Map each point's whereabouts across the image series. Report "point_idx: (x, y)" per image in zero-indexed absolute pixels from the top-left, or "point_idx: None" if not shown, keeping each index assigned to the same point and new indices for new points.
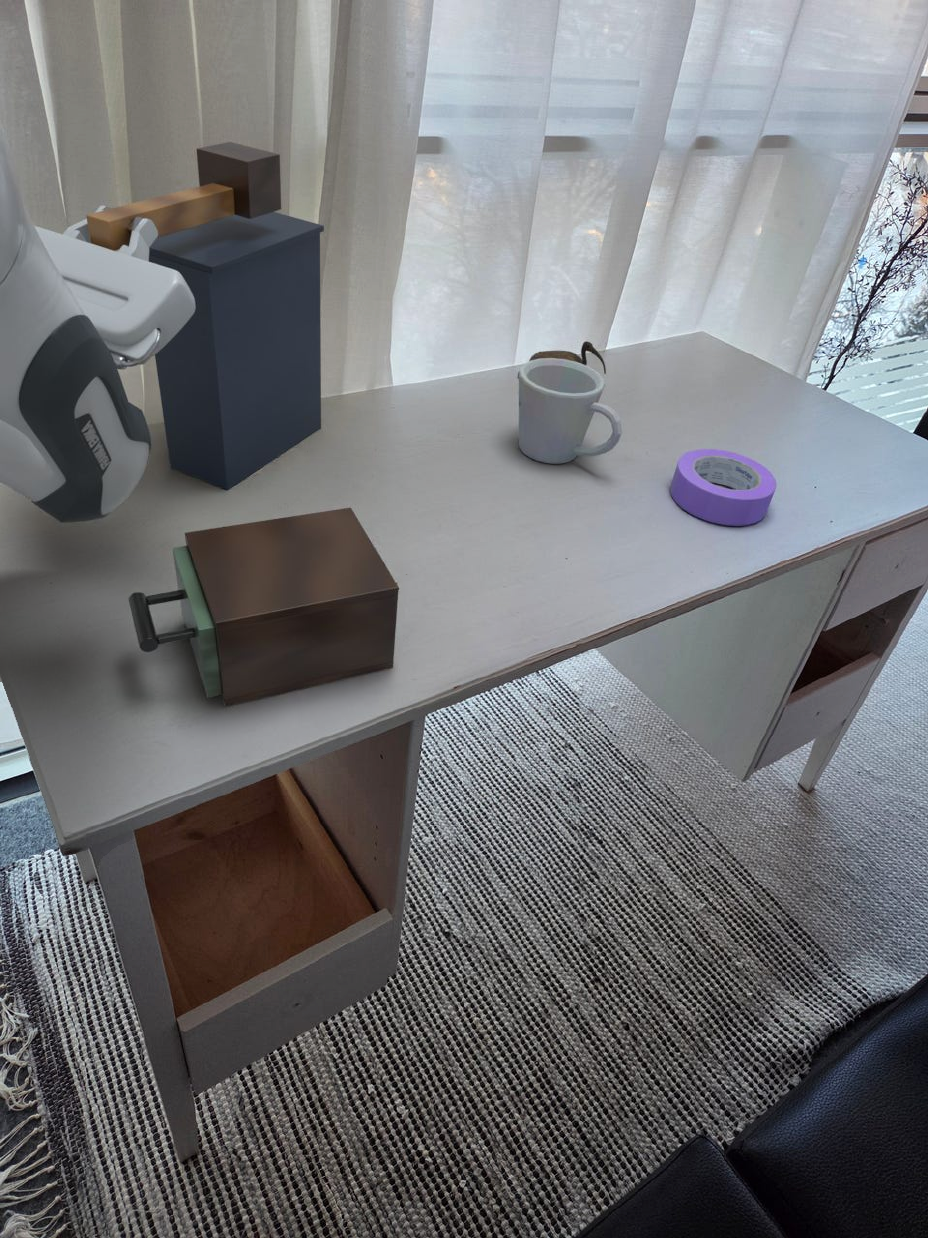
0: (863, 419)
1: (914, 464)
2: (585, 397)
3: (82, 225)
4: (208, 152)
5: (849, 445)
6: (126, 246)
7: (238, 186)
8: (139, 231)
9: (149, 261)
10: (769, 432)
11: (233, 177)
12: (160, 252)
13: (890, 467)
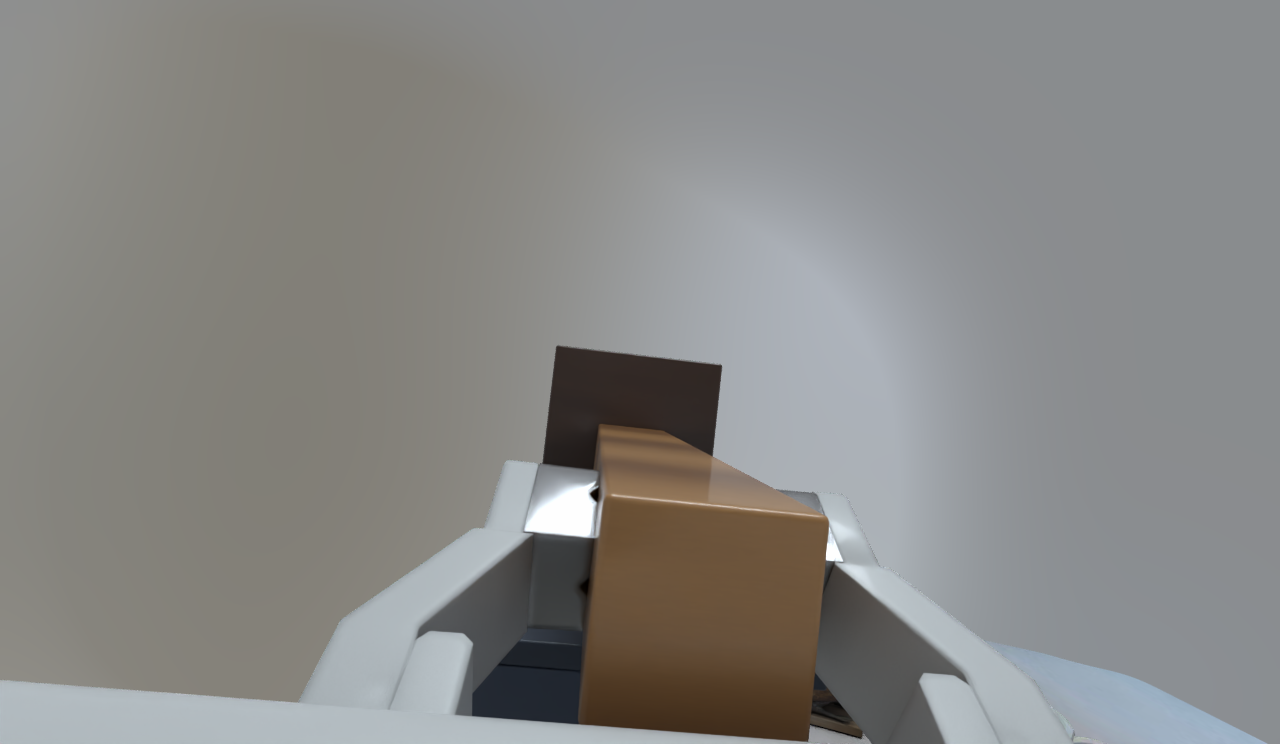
0: (1055, 659)
1: (1177, 699)
2: (1074, 734)
3: (458, 588)
4: (596, 352)
5: (1111, 695)
6: (955, 683)
7: (682, 425)
8: (875, 563)
9: (497, 698)
10: (1049, 703)
11: (670, 405)
12: (571, 650)
13: (1178, 711)
